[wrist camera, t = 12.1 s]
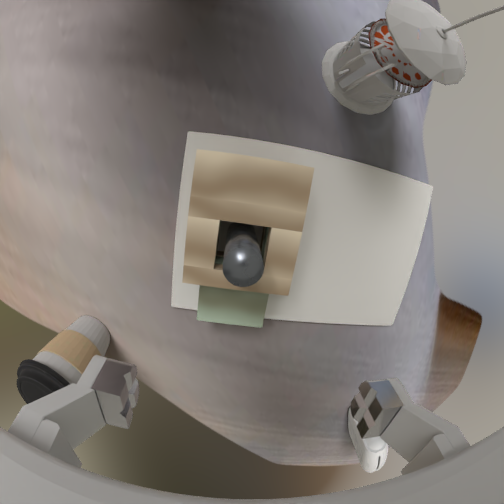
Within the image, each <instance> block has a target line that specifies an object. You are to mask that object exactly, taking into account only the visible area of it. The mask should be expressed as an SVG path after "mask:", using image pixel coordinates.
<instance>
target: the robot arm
mask: <svg viewBox="0 0 504 504" xmlns="http://www.w3.org/2000/svg"><path fill="white" fill-rule="evenodd" d="M136 375H137V368H136V365H134V364H130V363H126V362H122V361H118V360H114V359H111V358H106V357H103V356H99V355H95V356H93V358H92V359H91V361H90V362H89V364H88V366H87V367H86V369H85V371H84V372H83V374H82V376H81V377H80V379H79V381H78V383H77V384H75V383H72V384H70V385H68V386H66V387H64V388H62V389H59V390H57V391H55V392H53V393H51V394H49V395H47V396H44V397H42V398H40V399H38V400H36V401H34V402H31V403H29V404H27V405H25V406H23V407H22V409H21V410H20V412H19V414H18V415H17V417H16V418H15V420H14V422H13V423H12V425H11V427H10V428H9V430H8V431H6V430H4V429H3V428H1V427H0V504H504V427H502V428H501V429H499V430H498V431H496V432H494V433H493V434H491V435H490V436H488V437H486V438H485V439H483V440H481V441H479V442H477V443H476V444H474V445H472V446H470V445H469V443H468V441H467V440H466V439H465V437H464V435H463V434H462V432H461V431H460V429H459V428H458V426H456V425H454V424H452V423H450V422H449V421H447V420H445V419H443V418H441V417H440V416H438V415H436V414H434V413H433V412H431V411H429V410H428V409H426V408H424V407H422V406H421V405H419V404H414V402H413V401H412V399H411V397H410V396H409V394H408V393H407V391H406V390H405V388H404V387H403V385H402V384H401V382H400V381H399V380H398V379H397V378H391V379H382V380H372V381H364V382H363V383H361V385H360V387H359V391H360V392H359V393H358V394H357V395H355V396H354V398H353V400H352V402H351V414H352V417H353V419H355V420H356V421H358V424H357V429H358V431H359V434H360V436H361V439H366V438H372V437H378V436H380V438H381V439H382V440H383V441H385V442H386V443H387V444H388V445H389V446H390V447H392V448H393V449H394V450H395V451H396V452H397V453H399V454H400V455H401V456H402V457H403V458H404V459H406V460H407V461H408V462H409V463H408V464H407V465H406V466H405V467H404V468H403V469H402V471H401V473H402V476H399V477H396V478H393V479H389V480H386V481H383V482H379V483H375V484H371V485H367V486H363V487H359V488H355V489H350V490H345V491H340V492H334V493H328V494H321V495H314V496H306V497H296V498H284V499H259V500H247V499H244V500H243V499H219V498H207V497H198V496H188V495H182V494H176V493H170V492H164V491H159V490H154V489H149V488H145V487H140V486H136V485H132V484H128V483H125V482H121V481H118V480H114V479H111V478H108V477H105V476H102V475H99V474H96V473H93V472H90V471H87V470H85V469H82V468H81V465H82V463H81V461H80V460H79V458H78V457H77V455H76V454H75V452H74V450H73V449H74V448H76V447H77V446H78V445H80V444H81V443H82V442H84V441H85V440H86V439H88V438H89V437H90V436H92V435H93V434H94V433H96V432H97V431H98V430H100V429H101V428H102V427H104V426H105V425H106V424H110V425H114V426H118V427H122V428H126V429H129V426H130V423H131V419H132V417H133V413H132V408H134V407H135V406H136V404H137V401H138V396H139V382H138V381H137V380H136Z"/></svg>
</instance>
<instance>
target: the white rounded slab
mask: <svg viewBox="0 0 504 504" xmlns="http://www.w3.org/2000/svg"><path fill="white" fill-rule="evenodd" d="M357 424H358V421H356V420H355V419H353V417H352V414H351V407H350V408H349V412H348V430H349V434H350V437H351V439H352V442H353V445H354V447H355V450H356V453H357V455H358V458H359V461H360V463H361V466H362V468H363V469H364V470H365V471H366V472H369V473H372V472H374V471H377V470H379V469H380V468H381V467H382V466H383V465H384V463H385V461H386V458H387V454H388V444H387V443H386V442H385V441H383V440H382V439H381V438H380V436H378V437H372V438H366V439H361V436H360V434H359V431H358V429H357Z"/></svg>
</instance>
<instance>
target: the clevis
mask: <svg viewBox="0 0 504 504" xmlns="http://www.w3.org/2000/svg"><path fill="white" fill-rule="evenodd" d="M313 173H314V168H313V167H308V166H303V165H298V164H293V163H288V162H283V161H277V160H271V159H266V158H259V157H253V156H247V155H240V154H233V153H225V152H218V151H209V150H200V149H197V151H196V158H195V165H194V172H193V179H192V187H191V195H190V203H189V212H188V221H187V231H186V242H185V253H184V266H183V280H182V283H188V284H195V285H200V287H199V298H198V310H197V320H200V321H207V322H215V323H223V324H232V325H241V326H250V327H260V328H262V325H263V321H264V316H265V311H266V306H267V302H268V297H269V294H276V295H285V296H288V295H289V291H290V286H291V282H292V277H293V273H294V268H295V264H296V259H297V255H298V250H299V245H300V241H301V236H302V231H303V226H304V221H305V216H306V211H307V206H308V201H309V195H310V190H311V184H312V179H313ZM221 220H222V221H229V222H237V223H244V224H251V225H258V226H263V232H262V238H261V244H260V252H261V256H262V259H263V263H264V272H263V275H262V277H261V278H260V280H259V281H258V282H256V283H255V284H253V285H251V286H248V287H238V286H235V285H233V284H231V283H230V282H229V281H228V280H227V279H226V278H225V276H224V274H223V259H224V251H217V249H218V241H219V234H220V226H221Z"/></svg>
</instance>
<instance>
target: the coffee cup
mask: <svg viewBox="0 0 504 504" xmlns="http://www.w3.org/2000/svg"><path fill="white" fill-rule="evenodd" d="M109 343H110V334H109V331H108V330H107V328H106V327H105V326H104V324H103V323H101V322H100V321H99V320H97V319H96V318H94V317H91V316H88V315H84V316H81V317H80V318H78V319H77V320H76V321H75V322H74V323H72V324H71V325H70V326H69V327H68V328H67V329H65V330H63V331H62V332H60V333H59V334H58V335H57V336H56V337H55V338H54V339H52V340H51V341H50V342H49V343H48V344H47V345H46V346H45V347H44V348H43V349H42V350H40V351H39V352H38V354H37V355H36V357H35V358H34V359H33V360H24V361H22V362H21V364H20V367H19V368H18V371H17V375H18V379H17V387H18V390H19V393H20V394H21V396H22V398H23V399H24V401H25V402H26V403H27V404H29V403H31V402H34V401H36V400H38V399H40V398H42V397H44V396H47V395H49V394H51V393H53V392H55V391H57V390H59V389H62V388H64V387H66V386H68V385H70V384H72V383H75V384H77V383H78V381H79V379H80V377H81V376H82V374H83V372H84V371H85V369H86V367H87V366H88V364H89V362H90V361H91V359H92V358H93V356H95V355H99V356H103V357H104V356H105V353H106V351H107V348H108V346H109Z"/></svg>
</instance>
